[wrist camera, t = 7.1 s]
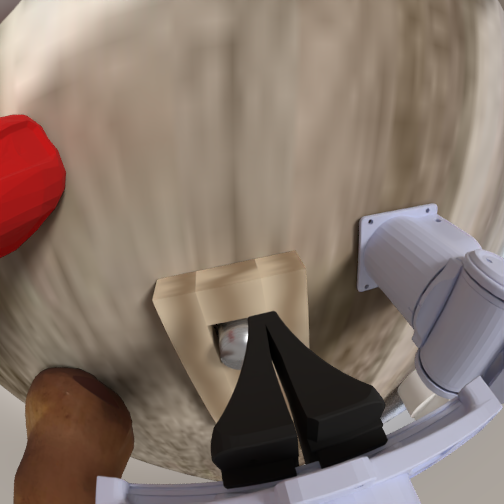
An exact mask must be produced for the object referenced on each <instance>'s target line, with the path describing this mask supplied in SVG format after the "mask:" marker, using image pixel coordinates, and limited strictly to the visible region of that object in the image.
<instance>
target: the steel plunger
mask: <svg viewBox="0 0 504 504" xmlns="http://www.w3.org/2000/svg"><path fill="white" fill-rule="evenodd" d="M218 335H219V346H220V357H221V361H222V362H223V364H224V365H226V366H227V367H229V368H232V369H236V370H241V369H242V365H243V361H244V356H245V352H246V345H247V338H248V320H247V318H243V319H238V320H233V321H229V322H224V323H218Z"/></svg>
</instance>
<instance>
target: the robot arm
mask: <svg viewBox="0 0 504 504" xmlns="http://www.w3.org/2000/svg"><path fill="white" fill-rule="evenodd" d="M426 209H427V211H426ZM370 219H371V222H370V223H368V221H369V220H370ZM366 285H367V286H366ZM376 287H379V288H380V289H381V290H382V291H383V292H384V294H385V295H386V296H387V297H388V298H389V299H390V301H391V302H392V303H393V304H394V305H395V307H396V308H397V309H398V310H399V312H400V313H401V314H402V315H403V316H404V318H405V319H406V320H407V321H408V323H409V324H410V325H411V326H412V328H413V329H414V335H413V337H412V340H413V342H414V343H415V344H416V346H417V347H418V350H417V352H416V355H415V368H416V371H417V373H418V375H419V377H420V379H421V380H422V382H423V383H424V384H425V386H426V387H427V388H428V389H429V390H431V391H432V392H433V393H435V394H437V395H438V396H441V397H443V398H446V399H450V401H448V402H447V403H445V404H444V405H442V406H440V407H439V408H437V409H435V410H434V411H432V412H430V413H429V414H427V415H425V416H423V417H421V418H420V419H418V420H416V421H414V422H412V423H410V424H408V425H406V426H404V427H402V428H400V429H398V430H396V431H395V432H392V433H390V434H388V435H385V432H384V430H383V428H382V427H383V423H382V421H381V419H380V417H381V415H382V413H383V411H384V408H385V403H384V400H383V398H382V397H381V396H380V394H379V393H378V392H377V390H376V389H375V388H374V387H373V386H372V385H369V384H366V383H364V382H362V381H359V380H357V379H355V378H353V377H351V376H349V375H347V374H345V373H343V372H341V371H340V370H338V369H336V368H335V367H333V366H331V365H330V364H328V363H327V362H325V361H324V360H323V359H321V358H320V357H319V356H317V355H316V354H315V353H313V352H312V351H311V350H310V349H309V348H308V347H306V346H305V345H304V344H303V343H302V342H301V341H300V340H299V339H298V338H297V337H296V336H295V335H294V334H293V333H292V332H291V331H290V329H289V328H288V327H287V326H286V325H285V323H284V322H283V321H282V320H281V318H280V317H279V315H278V314H277V312H275V311H271V312H266V313H262V314H258V315H253V316H249V317H248V318H247V320H248V338H247V345H246V352H245V356H244V361H243V365H242V369H241V372H240V375H239V378H238V381H237V384H236V386H235V389H234V392H233V394H232V396H231V398H230V400H229V402H228V404H227V406H226V408H225V410H224V412H223V414H222V415H221V417H220V419H219V420H218V422H217V423H216V425H215V427H214V429H213V434H212V439H211V456H212V461H213V463H214V464H215V465H216V466H217V467H218V468H219V469H220V470H221V472H222V479H223V481H217V482H207V483H192V484H134V483H133V484H132V483H128V482H127V481H125V480H123V479H120V478H116V477H106V476H97V482H96V499H95V504H421V502H420V500H419V498H418V496H417V494H416V491H415V489H414V487H413V485H412V483H411V481H410V478H412V477H414V476H416V475H418V474H419V473H421V472H423V471H424V470H426V469H428V468H429V467H431V466H432V465H434V464H435V463H437V462H438V461H440V460H442V459H443V458H445V457H446V456H447V455H449V454H450V453H452V452H453V451H454V450H456V449H457V448H459V447H460V446H461V445H463V444H464V443H465V442H467V441H468V440H469V439H471V438H472V437H473V436H475V435H476V434H477V433H478V432H480V431H481V430H482V429H483V428H484V427H485V426H486V425H487V424H488V423H489V422H490V421H491V420H492V419H493V418H494V417H495V416H496V415H497V414H498V412H499V411H500V410H501V409H502V405H501V404H503V403H504V258H503V257H501V256H499V255H497V254H495V253H492V252H490V251H487V250H483V249H482V248H481V246H480V245H479V243H478V242H477V241H476V239H475V238H473V237H472V236H471V235H469V234H468V233H466V232H465V231H463V230H462V229H460V228H459V227H457V226H455V225H454V224H452V223H451V222H449V221H447V220H446V219H444V218H443V217H441V216H439V215H438V214H437V205H436V204H427V205H422V206H416V207H411V208H406V209H400V210H395V211H390V212H384V213H379V214H374V215H369V216H364V217H362V218H361V219H360V221H359V253H358V274H357V290H358V291H359V292H363V291H366V290H369V289H373V288H376ZM272 362H273V363H272ZM273 365H274V366H273ZM274 367H275V369H274ZM275 370H276V372H277V375H278V377H279V380H280V382H281V385H282V387H283V389H284V392H285V394H286V397H287V400H288V403H289V407H290V410H291V414H292V417H293V421H294V423H293V421H292V418H291V415H290V413H289V410H288V407H287V405H286V402H285V399H284V396H283V393H282V390H281V388H280V385H279V381H278V378H277V375H276V372H275ZM294 424H295V426H294ZM295 428H296V430H295ZM296 431H297V433H296ZM297 435H298V437H297ZM298 438H299V442H300V445H301V449H302V453H303V456H304V460H305V464H306V465H302V466H299V461H298V456H299V452H298Z"/></svg>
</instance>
